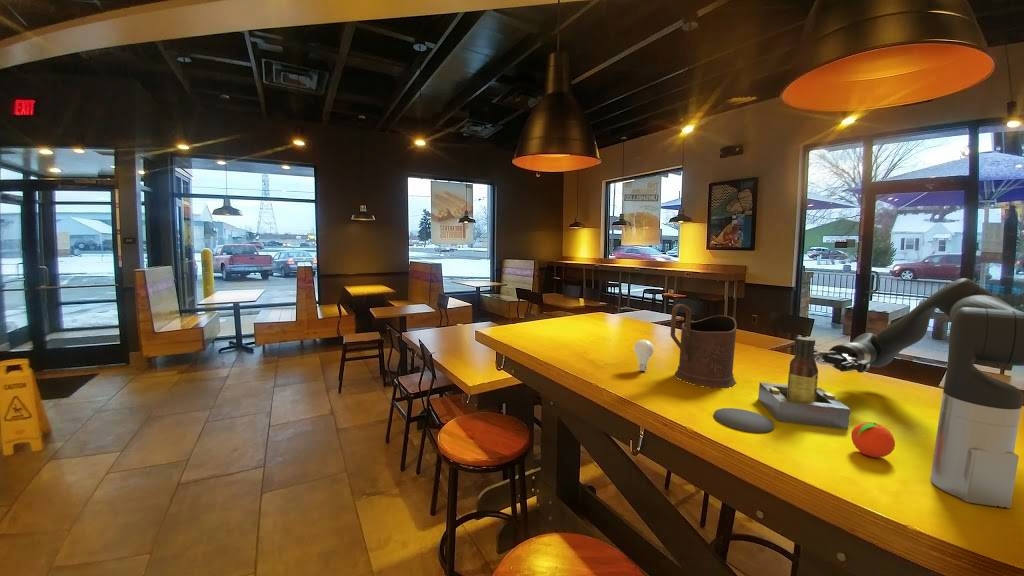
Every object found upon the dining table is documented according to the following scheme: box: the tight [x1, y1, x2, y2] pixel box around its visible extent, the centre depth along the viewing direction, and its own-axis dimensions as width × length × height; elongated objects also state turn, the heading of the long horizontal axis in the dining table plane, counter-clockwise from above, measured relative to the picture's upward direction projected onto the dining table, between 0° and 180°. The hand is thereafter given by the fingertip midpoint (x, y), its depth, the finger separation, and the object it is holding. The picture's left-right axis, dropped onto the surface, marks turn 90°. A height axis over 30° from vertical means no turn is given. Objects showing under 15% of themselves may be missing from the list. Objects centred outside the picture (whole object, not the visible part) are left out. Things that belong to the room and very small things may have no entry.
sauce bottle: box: [787, 336, 819, 402], centre depth 107 cm, size 6×6×20 cm
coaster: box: [713, 407, 775, 434], centre depth 102 cm, size 13×13×1 cm
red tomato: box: [850, 421, 896, 458], centre depth 86 cm, size 8×7×7 cm
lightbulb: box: [633, 339, 655, 372], centre depth 140 cm, size 6×6×11 cm
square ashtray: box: [757, 381, 851, 430], centre depth 108 cm, size 15×15×6 cm
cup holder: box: [670, 303, 738, 389], centre depth 132 cm, size 18×24×25 cm
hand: (823, 363), depth 112 cm, fingers open, 8 cm apart
